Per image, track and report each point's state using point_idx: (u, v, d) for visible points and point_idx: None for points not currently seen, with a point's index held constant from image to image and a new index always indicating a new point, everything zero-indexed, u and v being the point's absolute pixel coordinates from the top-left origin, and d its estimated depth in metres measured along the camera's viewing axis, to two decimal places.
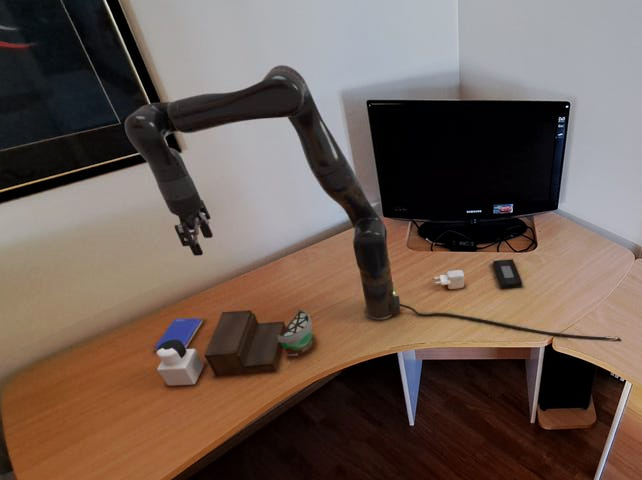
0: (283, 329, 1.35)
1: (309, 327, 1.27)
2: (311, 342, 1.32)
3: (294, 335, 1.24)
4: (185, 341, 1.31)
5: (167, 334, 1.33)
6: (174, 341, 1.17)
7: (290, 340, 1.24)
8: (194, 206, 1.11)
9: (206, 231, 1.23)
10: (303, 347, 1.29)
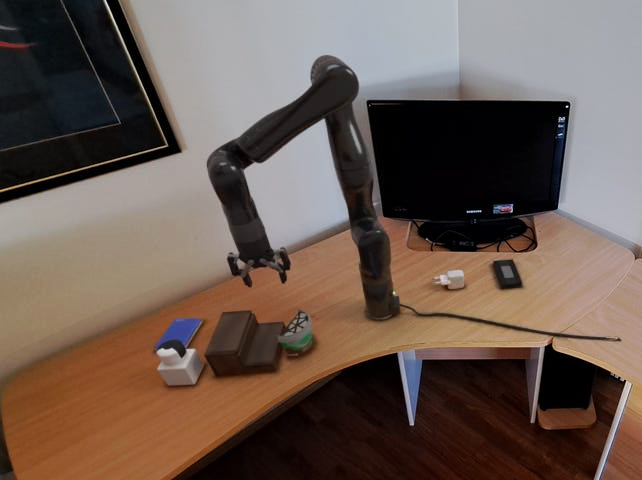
0: (283, 329, 1.35)
1: (309, 327, 1.27)
2: (311, 342, 1.32)
3: (294, 335, 1.24)
4: (185, 341, 1.31)
5: (167, 334, 1.33)
6: (174, 341, 1.17)
7: (290, 340, 1.24)
8: (241, 251, 1.09)
9: None
10: (303, 347, 1.29)
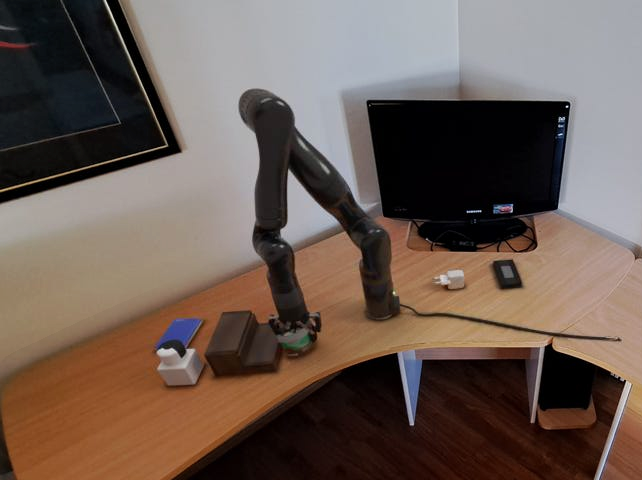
0: None
1: None
2: (311, 342, 1.32)
3: (294, 335, 1.24)
4: (185, 341, 1.31)
5: (167, 334, 1.33)
6: (174, 341, 1.17)
7: (290, 340, 1.24)
8: (280, 315, 1.20)
9: None
10: (303, 347, 1.29)
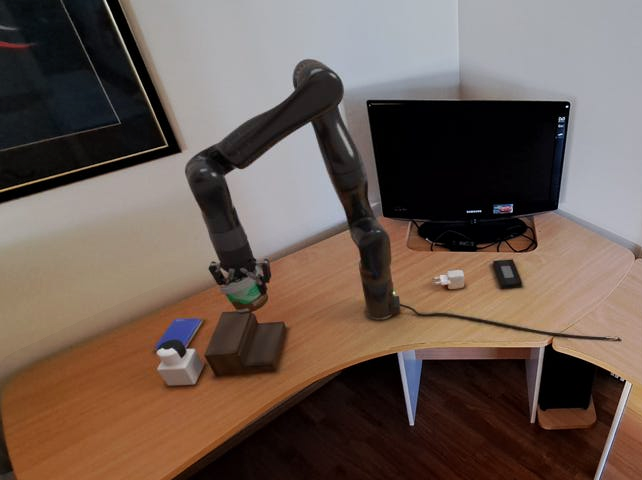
0: (283, 329, 1.35)
1: None
2: (264, 296, 1.18)
3: (238, 284, 1.10)
4: (185, 341, 1.31)
5: (167, 334, 1.33)
6: (174, 341, 1.17)
7: (234, 290, 1.10)
8: (221, 259, 1.06)
9: None
10: (254, 301, 1.15)
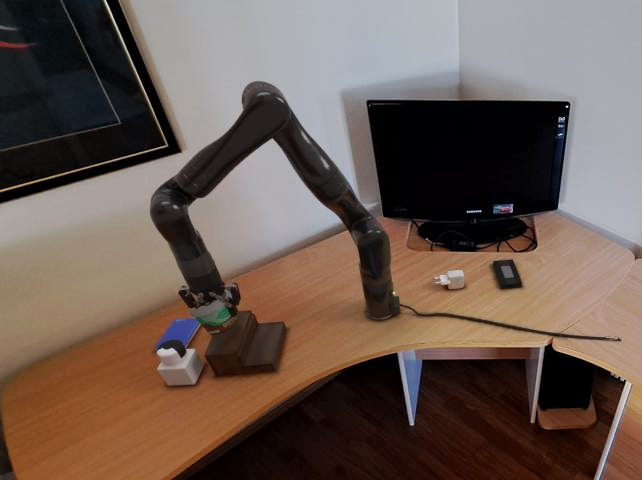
0: (283, 329, 1.35)
1: None
2: (234, 317, 1.21)
3: (207, 308, 1.13)
4: (185, 341, 1.31)
5: (167, 334, 1.33)
6: (174, 341, 1.17)
7: (203, 313, 1.13)
8: (189, 285, 1.09)
9: None
10: (224, 323, 1.19)
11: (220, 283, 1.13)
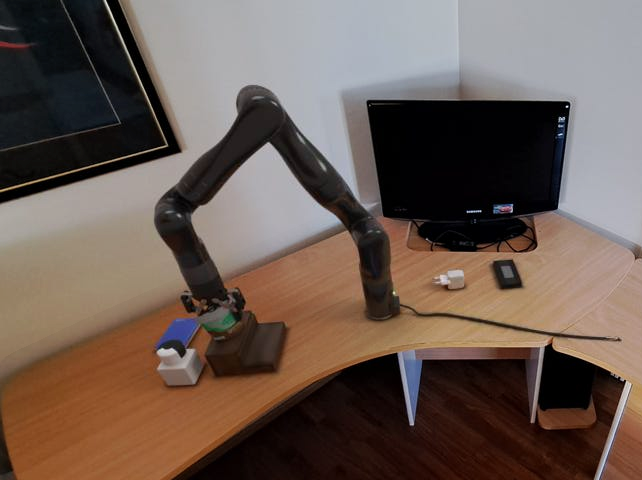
0: (283, 329, 1.35)
1: None
2: (239, 323, 1.23)
3: (211, 314, 1.15)
4: (185, 341, 1.31)
5: (167, 334, 1.33)
6: (174, 341, 1.17)
7: (208, 320, 1.15)
8: (192, 291, 1.11)
9: None
10: (229, 329, 1.20)
11: (223, 290, 1.15)
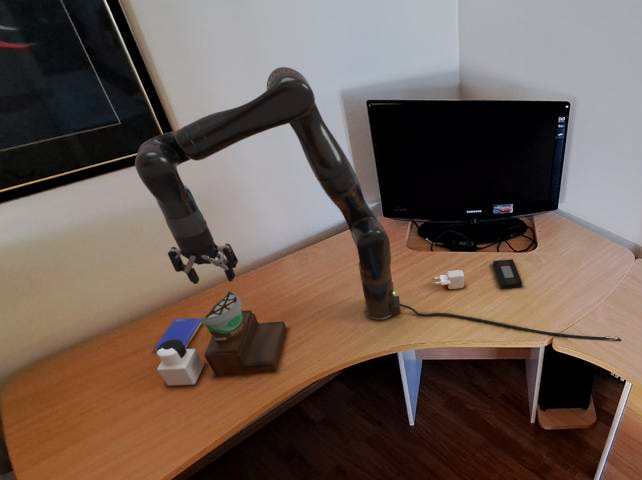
0: (283, 329, 1.35)
1: (237, 309, 1.19)
2: (242, 326, 1.23)
3: (219, 317, 1.15)
4: (185, 341, 1.31)
5: (167, 334, 1.33)
6: (174, 341, 1.17)
7: (214, 322, 1.15)
8: (180, 246, 1.04)
9: None
10: (232, 331, 1.21)
11: (213, 245, 1.08)
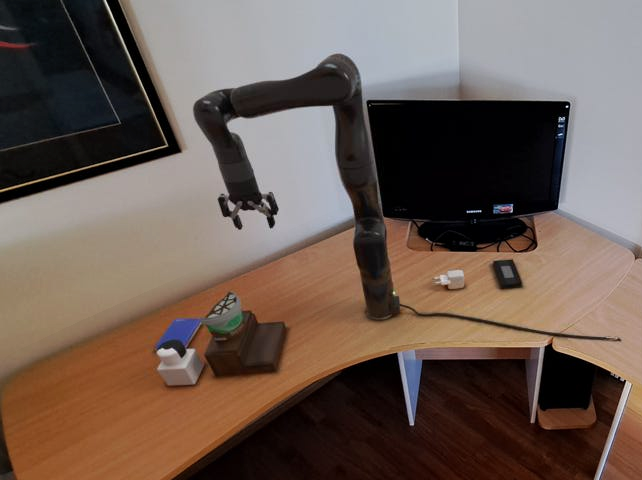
0: (283, 329, 1.35)
1: (237, 309, 1.19)
2: (242, 326, 1.23)
3: (218, 317, 1.15)
4: (185, 341, 1.31)
5: (167, 334, 1.33)
6: (174, 341, 1.17)
7: (214, 322, 1.15)
8: (230, 191, 1.16)
9: None
10: (232, 331, 1.21)
11: (258, 192, 1.20)
